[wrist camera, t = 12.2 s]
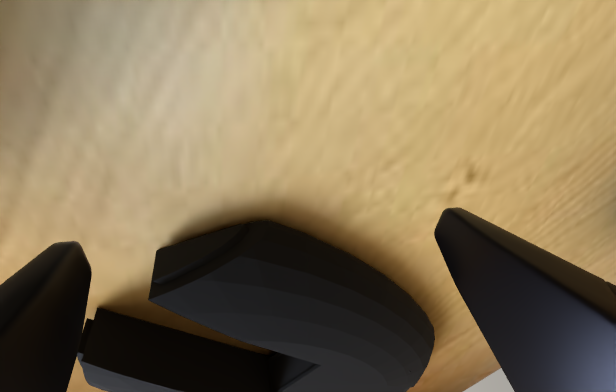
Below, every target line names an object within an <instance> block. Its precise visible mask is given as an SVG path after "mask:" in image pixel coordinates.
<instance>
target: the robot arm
mask: <svg viewBox="0 0 616 392" xmlns="http://www.w3.org/2000/svg"><path fill="white" fill-rule="evenodd" d="M434 235H435V239H436V241H437V244H438V246H439V248H440V250H441V253H442V255H443V257H444V260H445V262H446V264H447V267H448V269H449V271H450V274H451V276H452V278H453V280H454V282H455V285H456V286H457V288H458V290H459V292H460V294H461V296H462V298H463V299H464V301H465V303H466V305H467V307H468V308H469V310H470V312H471V314H472V316H473V317H474V319H475V321H476V323H477V325H478V326H479V328H480V330H481V332H482V334H483V335H484V337H485V339H486V341H487V343H488V344H489V346H490V348H491V350H492V352H493V353H494V355H495V357H496V359H497V361H498V362H499V364H500V366H501V368H502V370H503V371H504V373H505V375H506V376H507V379H508V380H509V382H510V384H511V386H512V388H513V389H514V391H515V392H616V286H615V285H613V284H611V283H609V282H605V281H604V280H603V279H601V278H599V277H597V276H595V275H593V274H591V273H589V272H587V271H585V270H583V269H581V268H579V267H577V266H575V265H573V264H571V263H569V262H567V261H565V260H563V259H561V258H559V257H558V256H556V255H554V254H552V253H550V252H548V251H546V250H544V249H542V248H540V247H538V246H536V245H534V244H532V243H530V242H528V241H526V240H524V239H522V238H520V237H518V236H516V235H514V234H512V233H510V232H508V231H506V230H504V229H502V228H500V227H498V226H496V225H494V224H492V223H490V222H488V221H486V220H484V219H482V218H480V217H478V216H476V215H474V214H472V213H470V212H468V211H466V210H464V209H462V208H447V209H445V210H444V211H443V212H442V215H441V217H440V219H439V221H438V223H437V226H436V228H435V232H434ZM90 282H91V267H90V264H89V262H88V260H87V258H86V255H85V253H84V251H83V249H82V247H81V245H80V244H79V243H78V242H76V241H69V242H58V243H54V244H52V245H51V246H50V247H48V248H47V249H46V250H44V251H43V252H42V253H41V254H39V255H38V256H37V257H36V258H34V259H33V260H32V261H30V262H29V263H28V264H27V265H25V266H24V267H23V268H21V269H20V270H19V271H18V272H16V273H15V274H14V275H13V276H11V277H10V278H9V279H7V280H6V281H5V282H4V283H2V284H1V285H0V392H66V391H67V387H68V384H69V381H70V377H71V374H72V370H73V367H74V364H75V360H76V357H77V353H78V349H79V346H80V341H81V336H82V331H83V325H84V319H85V313H86V306H87V300H88V294H89V288H90Z"/></svg>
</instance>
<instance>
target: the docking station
mask: <svg viewBox="0 0 616 392" xmlns="http://www.w3.org/2000/svg"><path fill="white" fill-rule="evenodd" d="M148 300H149V301H151V302H153V303H155V304H157V305H159V306H161V307H164V308H166V309H168V310H170V311H172V312H174V313H176V314H178V315H180V316H183V317H185V318H187V319H190V320H192V321H194V322H197V323H199V324H201V325H204V326H206V327H208V328H211V329H213V330H215V331H218V332H220V333H222V334H225V335H227V336H230V337H232V338H235V339H237V340H239V341H242V342H245V343H249V344H252V345H255V346H259V347H262V348H265V349H268V350H272V351H275V352H278V353H276V354H275V355H274V356H272V357H269V356H265V355H262V354H258V353H255V352H251V351H248V350H244V349H241V348H237V347H234V346H230V345H227V344H223V343H220V342H216V341H213V340H209V339H205V338H202V337H198V336H195V335H191V334H188V333H184V332H181V331H177V330H174V329H170V328H167V327H163V326H160V325H156V324H153V323H149V322H146V321H142V320H139V319H135V318H132V317H128V316H125V315H121V314H118V313H114V312H111V311H107V310H104V309H100V308H97V311H96V314H95V317H94V320H91V319H88V318H87V320H86V323H85V326H84V329H83V333H82V336H81V341H80V346H79V349H78V353H77V357H78V360H79V363H80V365H81V367H82V368H83V372H84V376H85V379H86V381H87V382H88V384H89V385H91V386H94V387H96V388H99V389H101V390H105V391H108V392H406V391H407V390H408V389H409V388H410V387H414V385H415V384H416V383H417V381H418V380H419V379H420V377H421V376H422V374H423V372H424V370H425V369H426V367H427V365H428V363H429V360H430V357H431V354H432V350H433V346H434V340H435V336H434V328H433V326H432V324H431V322H430V321H429V319H428V317H427V315H426V314H425V312H424V311H423V310H422V309H421V308H420V307H419V305H418V304H417V303H416V302H415V301H414V300H413V299H412V298H411V296H410V295H409V294H407V293H406V292H405V291H404V290H402V289H401V288H400V287H399V286H397V285H396V284H395V283H394V282H392V281H391V280H390V279H389V278H387V277H386V276H385V275H383V274H382V273H380V272H379V271H377V270H375V269H374V268H372V267H370V266H369V265H367V264H365V263H364V262H362V261H360V260H359V259H357V258H355V257H354V256H352V255H351V254H349V253H346V252H344V251H342V250H340V249H338V248H336V247H333V246H331V245H329V244H327V243H325V242H323V241H321V240H318V239H316V238H314V237H312V236H310V235H308V234H306V233H303V232H300V231H298V230H295V229H292V228H289V227H286V226H283V225H280V224H277V223H274V222H272V221H269V220H265V221H256V222H251V223H246V224H239V225H236V226H233V227H229V228H226V229H223V230H220V231H217V232H214V233H210V234H207V235H204V236H201V237H198V238H195V239H191V240H188V241H185V242H182V243H179V244H175V245H172V246H169V247H166V248H163V249H160V250H157V251H156V257H155V263H154V269H153V275H152V281H151V287H150V293H149V299H148Z"/></svg>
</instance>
